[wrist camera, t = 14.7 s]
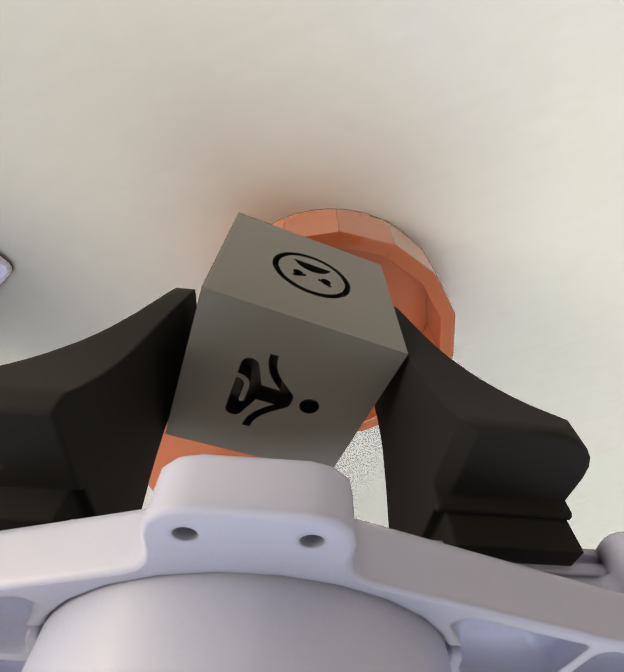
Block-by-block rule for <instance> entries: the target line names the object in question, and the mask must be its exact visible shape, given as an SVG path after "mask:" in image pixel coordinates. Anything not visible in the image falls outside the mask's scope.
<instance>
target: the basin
mask: <svg viewBox="0 0 624 672" xmlns="http://www.w3.org/2000/svg"><path fill="white" fill-rule="evenodd" d="M271 225H274V226H277V227H280V228H282V229H285V230H288V231H290V232H293V233H296V234H299V235H301V236H304V237H307V238H309V239H312V240H315V241H318V242H320V243H323V244H326V245H328V246H331V247H334V248H337V249H339V250H342V251H345V252H347V253H350V254H353V255H356V256H358V257H361V258H364V259H366V260H369V261H372V262H375V263H377V264H380V265H381V267H382V271H383V274H384V277H385V280H386V284H387V287H388V290H389V293H390V297H391V300H392V303H393V306H394V307H397V308H398V309H399V310H400V311H401V312H402V313H403V314H404V315H405V316H406V317H407V318H408V319H409V320H410V322H411V323H412V324H413V325H414V326H415V327H416V328H417V329H418V330H419V331H420V332H421V333H422V334H423V335H424V336H425V337H427V338H428V339H429V340H430V341H431V342H432V343H433V344H434V345H435V346H436V347H437V348H439V349H440V350H441V351H442V352H443V353H445V354H446V355H447V356H448V357H449V358H451V359H452V357H453V350H454V330H455V312H454V310H453V308H452V306H451V304H450V302H449V300H448V298H447V296H446V294H445V292H444V290H443V288H442V286H441V283H440V281H439V279H438V277H437V275H436V273H435V272H434V270H433V268H432V266H431V264H430V263H429V261H428V259H427V257H426V255H425V253H424V252H423V250H422V249H421V248H420V247H419V246H418V245H416V244H415V243H414V242H413V241H412V240H411V239H410V238H409V237H408V236H406V235H405V234H404V233H403V232H402V231H400V230H399V229H397V228H396V227H394V226H393V225H391V224H390V223H388V222H386V221H384V220H381V219H379V218H377V217H374V216H371V215H368V214H365V213H361V212H356V211H351V210H345V209H320V210H310V211H306V212H302V213H297V214H294V215H291V216H288V217H286V218H283V219H280V220H278V221H277V222H275V223H273V224H271ZM377 425H379V424H378V420H377V415H376V411H375V406H374V407H373V408H372V410H371V411H370V413H369V414H368V416H367V417H366V419H365V420H364V422H363V424H362V425H361V427H360V428H359V430H358V431H364V430H367V429H369V428H372V427H374V426H377Z"/></svg>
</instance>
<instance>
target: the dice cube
mask: <svg viewBox="0 0 624 672" xmlns="http://www.w3.org/2000/svg"><path fill="white" fill-rule="evenodd" d="M407 355H408V352H407V348H406V345H405V342H404V339H403V335H402V332H401V329H400V326H399V322H398V319H397V316H396V313H395V309H394V306H393V303H392V300H391V297H390V293H389V290H388V287H387V284H386V280H385V277H384V274H383V271H382V267H381V265H380V264H377V263H375V262H372V261H369V260H366V259H364V258H361V257H358V256H356V255H353V254H350V253H347V252H345V251H342V250H339V249H337V248H334V247H331V246H328V245H326V244H323V243H320V242H318V241H315V240H312V239H309V238H307V237H304V236H301V235H299V234H296V233H293V232H290V231H288V230H285V229H282V228H280V227H277V226H274V225H271V224H269V223H266V222H263V221H261V220H258V219H255V218H252V217H250V216H247V215H244V214H242V213H238V215H237V217H236V219H235V221H234V223H233V225H232V227H231V229H230V231H229V233H228V235H227V237H226V239H225V241H224V243H223V245H222V247H221V249H220V251H219V253H218V255H217V257H216V259H215V261H214V263H213V265H212V267H211V269H210V271H209V273H208V275H207V277H206V279H205V281H204V283H203V285H202V288H201V292H200V296H199V300H198V304H197V308H196V312H195V316H194V320H193V324H192V328H191V332H190V336H189V340H188V344H187V348H186V352H185V356H184V360H183V364H182V368H181V372H180V376H179V380H178V384H177V388H176V392H175V396H174V400H173V404H172V408H171V412H170V416H169V420H168V424H167V428H166V432H165V434H167V435H171V436H175V437H179V438H183V439H187V440H192V441H196V442H200V443H204V444H208V445H212V446H216V447H220V448H224V449H228V450H232V451H236V452H240V453H244V454H248V455H252V456H256V457H261V458H271V459H286V460H301V461H312V462H316V463H320V464H324V465H329V466H332V467H334V466H335V465H336V463H337V462H338V460H339V459H340V457H341V456H342V454H343V452H344V451H345V449H346V448H347V446H348V445H349V443H350V442H351V440H352V439H353V437H354V436H355V434H356V433H357V431H358V430H359V428H360V427H361V425H362V424H363V422H364V420H365V419H366V417H367V416H368V414H369V413H370V411H371V410H372V408H373V407H374V405H375V404H376V402H377V401H378V399H379V398H380V396H381V395H382V393H383V392H384V390H385V389H386V387H387V385H388V384H389V382H390V381H391V379H392V378H393V376H394V375H395V373H396V372H397V370H398V369H399V367H400V366H401V364H402V363H403V361H404V360H405V358H406V357H407Z"/></svg>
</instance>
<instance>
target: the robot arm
mask: <svg viewBox="0 0 624 672" xmlns="http://www.w3.org/2000/svg"><path fill="white" fill-rule="evenodd" d="M11 271H12V267H11V265H10V264H9V263H8V262H7V261H6V260H5V259H4V258H2V257H1V256H0V285H1V284H2V283H3V281H4V280H5V279H6V278H7V277H8V276H9V274H10V273H11ZM196 308H197V305H196V293H195V290H194V289H183V288H175V289H173V290H172V291H170V292H168V293H167V294H165V295H163V296H162V297H160V298H159V299H157V300H156V301H154V302H153V303H151V304H149V305H148V306H146V307H145V308H143V309H141V310H140V311H138V312H137V313H135V314H133V315H131V316H130V317H128V318H126V319H124V320H122V321H121V322H119V323H117V324H115V325H113V326H112V327H110V328H108V329H106V330H104V331H102V332H99V333H97V334H95V335H93V336H91V337H88V338H86V339H84V340H81V341H79V342H76V343H74V344H71V345H68V346H65V347H62V348H60V349H57V350H54V351H51V352H48V353H45V354H42V355H39V356H35V357H32V358H29V359H25V360H21V361H17V362H13V363H10V364H6V365H1V366H0V672H624V532H616V533H613V534H610V535H608V536H607V537H605V538H604V539H603V540H602V541H601V542H600V544H599V545H598V547H597V548H596V550H593V549H582V548H581V546H580V544H579V542H578V541H577V539H576V537H575V535H574V533H573V531H572V529H571V528H570V526H569V524H568V522H567V520H570V518H571V517H572V513H571V511H570V509H569V507H568V506H567V504H566V502H565V500H566V498H567V497H568V496H569V495H570V493H571V492H572V491H573V490H574V488H575V487H576V486H577V484H578V483H579V482H580V481H581V479H582V478H583V476H584V474H585V473H586V471H587V469H588V467H589V462H590V456H589V453H588V450H587V448H586V446H585V445H584V444H583V442H582V441H581V439H580V438H579V436H578V435H577V433H576V432H575V430H574V429H573V428H572V426H571V425H570V423H569V422H568V421H567V420H565V419H563V418H560V417H558V416H555V415H553V414H550V413H548V412H545V411H543V410H540V409H538V408H535V407H533V406H530V405H528V404H526V403H524V402H522V401H520V400H518V399H516V398H514V397H512V396H509V395H508V394H506V393H504V392H502V391H500V390H498V389H496V388H495V387H493V386H491V385H489V384H488V383H486V382H484V381H483V380H481V379H479V378H478V377H476V376H475V375H473V374H471V373H470V372H468V371H467V370H466V369H464V368H463V367H461V366H460V365H459V364H457V363H456V362H455V361H453V360H452V359H451V358H449V357H448V356H447V355H446V354H445V353H443V352H442V351H441V350H440V349H439V348H437V347H436V346H435V345H434V344H433V343H432V342H431V341H430V340H429V339H428V338H427V337H425V336H424V335H423V334H422V333H421V332H420V331H419V330H418V329H417V328H416V327H415V326H414V325H413V324H412V323H411V322H410V320H409V319H408V318H407V317H406V316H405V315H404V314H403V313H402V312H401V311H400V310H399V309H398V308H397V307H394V309H395V313H396V316H397V319H398V322H399V326H400V329H401V332H402V335H403V339H404V342H405V345H406V348H407V352H408V355H407V357H406V358H405V360H404V361H403V363H402V364H401V366H400V367H399V369H398V370H397V372H396V373H395V375H394V376H393V378H392V379H391V381H390V382H389V384H388V385H387V387H386V389H385V390H384V392H383V393H382V395H381V396H380V398H379V399H378V401H377V402H376V404H375V405H374V406H375V411H376V415H377V420H378V424H379V429H380V434H381V440H382V448H383V458H384V468H385V479H386V491H387V505H388V521H389V528H387V527H383V526H380V525H376V524H373V523H369V522H366V521H362V520H358V519H355V518H354V508H353V496H352V490H351V484H350V480H349V479H348V478H347V477H345V476H344V475H343V474H342V473H340V472H339V471H338V470H337V469H335V468H334V467H332V466H329V465H324V464H320V463H316V462H312V461H301V460H286V459H271V458H256V457H241V456H226V455H211V454H200V455H191V456H182V457H178V458H177V459H175V460H174V461H172V462H170V463H169V464H167V465H166V466H164V467H163V468H162V470H161V472H160V475H159V478H158V480H157V483H156V486H155V488H154V491H153V494H152V496H151V499H150V502H149V504H148V507H147V509H142V506H143V502H144V498H145V495H146V491H147V487H148V483H149V480H150V476H151V473H152V470H153V466H154V463H155V459H156V456H157V453H158V449H159V446H160V443H161V440H162V437H163V434H164V430H165V428H166V425H167V422H168V420H169V416H170V412H171V408H172V404H173V400H174V396H175V392H176V388H177V384H178V380H179V376H180V372H181V368H182V364H183V360H184V356H185V352H186V348H187V344H188V340H189V336H190V332H191V328H192V324H193V320H194V316H195V312H196Z"/></svg>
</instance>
